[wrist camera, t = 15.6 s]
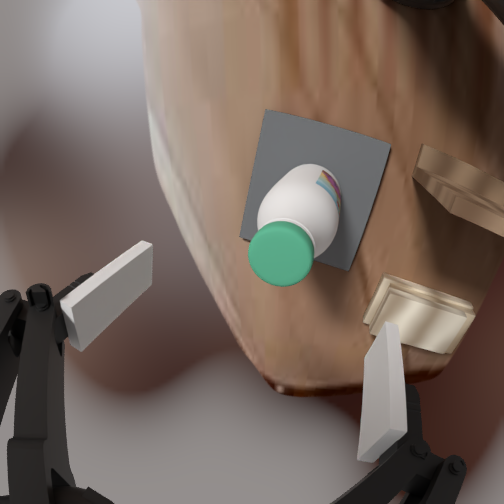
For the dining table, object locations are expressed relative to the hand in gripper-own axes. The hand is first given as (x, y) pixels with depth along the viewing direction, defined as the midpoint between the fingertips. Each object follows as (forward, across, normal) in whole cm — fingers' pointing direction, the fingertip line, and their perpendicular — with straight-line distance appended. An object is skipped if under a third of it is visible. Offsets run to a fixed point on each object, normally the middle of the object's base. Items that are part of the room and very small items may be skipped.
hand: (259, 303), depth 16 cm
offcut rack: (+27, +21, -3) cm, 34 cm away
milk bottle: (+26, 0, -1) cm, 26 cm away
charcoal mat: (+27, 0, 0) cm, 27 cm away
